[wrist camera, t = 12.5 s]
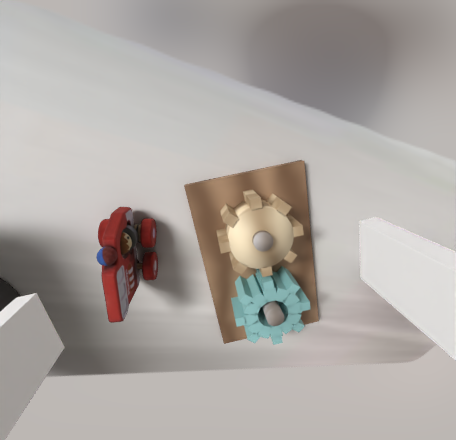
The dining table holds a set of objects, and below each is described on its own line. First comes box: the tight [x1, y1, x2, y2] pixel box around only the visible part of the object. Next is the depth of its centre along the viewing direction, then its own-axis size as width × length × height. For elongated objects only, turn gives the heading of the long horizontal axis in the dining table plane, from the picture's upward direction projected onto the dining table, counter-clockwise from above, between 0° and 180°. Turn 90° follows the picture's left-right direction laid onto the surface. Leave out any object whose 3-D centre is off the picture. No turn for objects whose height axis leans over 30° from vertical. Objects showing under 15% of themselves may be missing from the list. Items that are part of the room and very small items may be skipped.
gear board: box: [184, 160, 319, 344], centre depth 37 cm, size 17×28×7 cm, turn 11°
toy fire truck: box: [97, 207, 158, 323], centre depth 32 cm, size 7×12×10 cm, turn 178°
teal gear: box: [231, 266, 310, 345], centre depth 39 cm, size 11×11×5 cm
